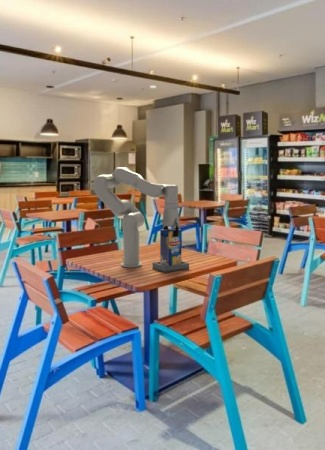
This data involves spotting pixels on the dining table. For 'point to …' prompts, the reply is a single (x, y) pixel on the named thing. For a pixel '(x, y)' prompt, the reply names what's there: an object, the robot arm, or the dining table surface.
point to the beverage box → (170, 247)
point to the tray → (170, 267)
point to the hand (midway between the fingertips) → (170, 235)
